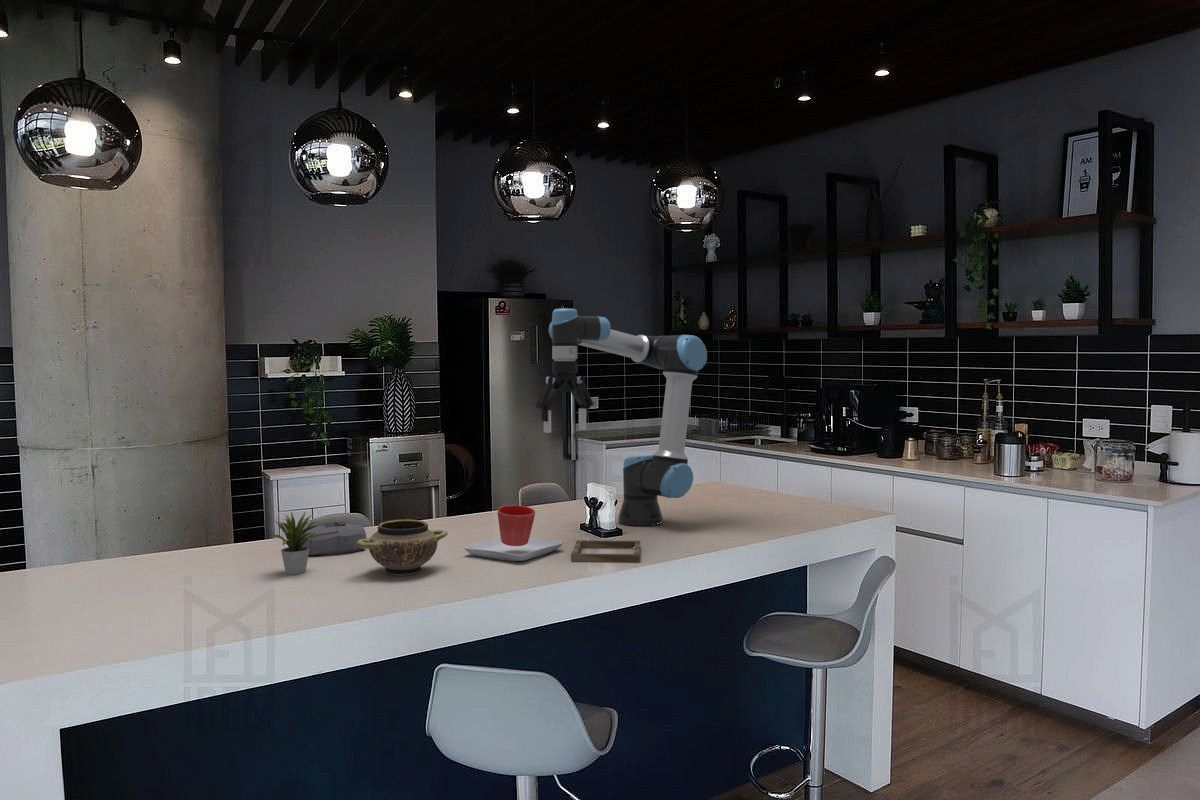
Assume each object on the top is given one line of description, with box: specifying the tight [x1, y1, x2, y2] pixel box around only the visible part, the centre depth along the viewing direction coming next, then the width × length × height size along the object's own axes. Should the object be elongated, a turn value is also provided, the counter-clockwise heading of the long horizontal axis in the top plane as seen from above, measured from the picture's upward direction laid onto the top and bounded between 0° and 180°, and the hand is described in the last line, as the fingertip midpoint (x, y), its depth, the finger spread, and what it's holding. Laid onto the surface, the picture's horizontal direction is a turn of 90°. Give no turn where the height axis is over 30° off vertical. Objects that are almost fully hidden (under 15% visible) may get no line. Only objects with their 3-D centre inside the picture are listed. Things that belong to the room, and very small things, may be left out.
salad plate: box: [463, 536, 564, 562], centre depth 252 cm, size 21×21×3 cm
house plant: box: [270, 510, 323, 576], centre depth 229 cm, size 14×14×16 cm
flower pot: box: [497, 504, 536, 546], centre depth 251 cm, size 11×11×10 cm
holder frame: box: [570, 539, 641, 563], centre depth 250 cm, size 19×19×2 cm
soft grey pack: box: [301, 521, 368, 556], centre depth 256 cm, size 15×8×20 cm
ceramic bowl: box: [357, 518, 449, 577], centre depth 231 cm, size 24×18×15 cm
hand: (565, 431), depth 261 cm, fingers open, 13 cm apart
